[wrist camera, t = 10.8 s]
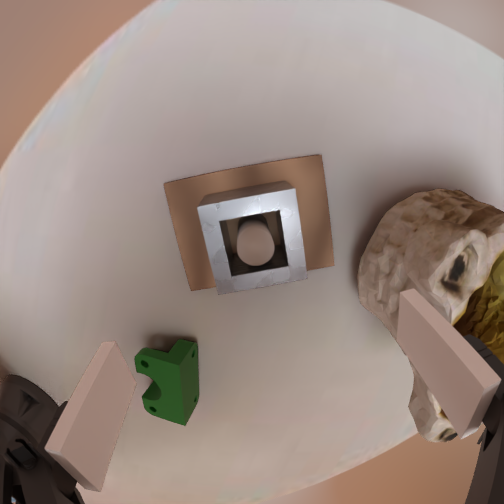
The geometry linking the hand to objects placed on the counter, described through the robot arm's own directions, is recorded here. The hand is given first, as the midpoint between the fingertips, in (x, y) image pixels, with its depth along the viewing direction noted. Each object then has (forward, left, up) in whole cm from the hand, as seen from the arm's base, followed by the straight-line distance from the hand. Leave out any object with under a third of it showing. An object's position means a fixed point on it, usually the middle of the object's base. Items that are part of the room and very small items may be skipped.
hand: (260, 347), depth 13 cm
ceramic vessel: (+21, -7, -21) cm, 31 cm away
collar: (0, 0, -20) cm, 20 cm away
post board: (0, 0, -21) cm, 21 cm away
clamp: (-14, -17, -21) cm, 30 cm away
